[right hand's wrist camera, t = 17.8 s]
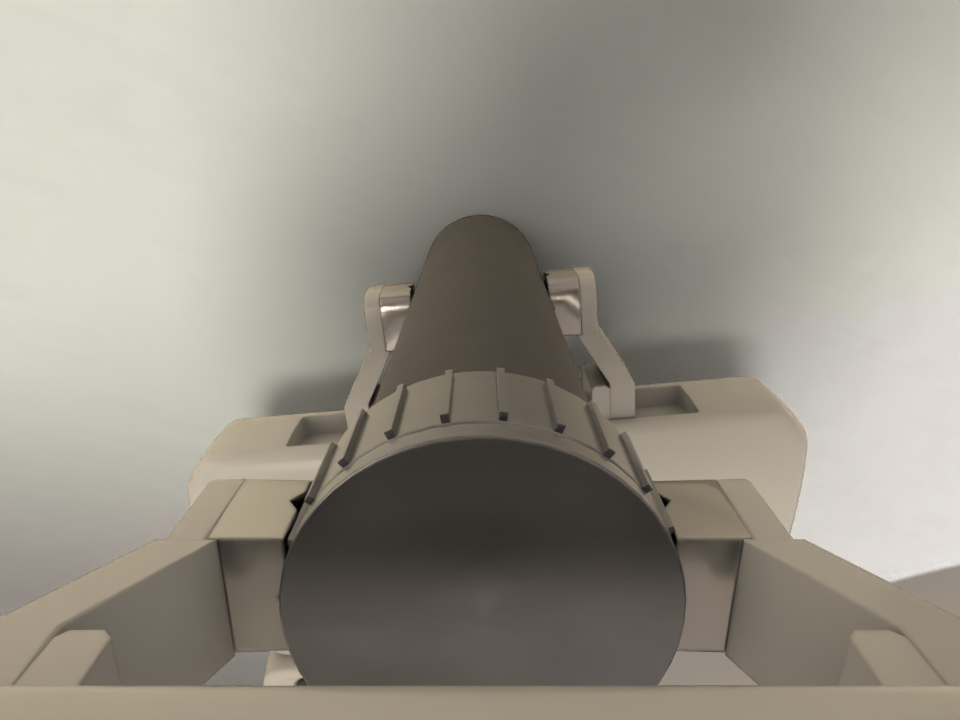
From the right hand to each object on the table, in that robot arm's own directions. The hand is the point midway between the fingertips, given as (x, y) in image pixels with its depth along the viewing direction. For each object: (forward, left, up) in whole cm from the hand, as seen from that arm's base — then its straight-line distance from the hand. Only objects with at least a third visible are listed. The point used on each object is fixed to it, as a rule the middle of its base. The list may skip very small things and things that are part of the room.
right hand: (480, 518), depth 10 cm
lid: (0, 0, +2) cm, 2 cm away
